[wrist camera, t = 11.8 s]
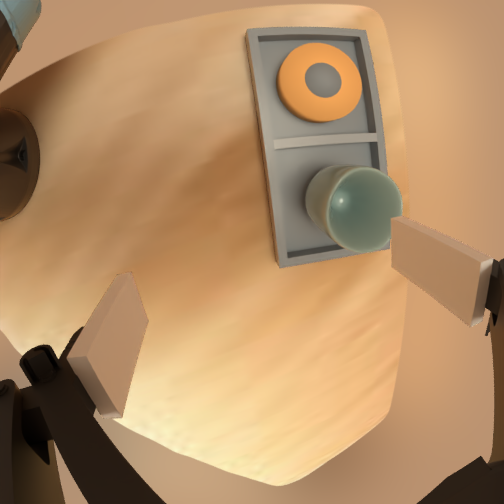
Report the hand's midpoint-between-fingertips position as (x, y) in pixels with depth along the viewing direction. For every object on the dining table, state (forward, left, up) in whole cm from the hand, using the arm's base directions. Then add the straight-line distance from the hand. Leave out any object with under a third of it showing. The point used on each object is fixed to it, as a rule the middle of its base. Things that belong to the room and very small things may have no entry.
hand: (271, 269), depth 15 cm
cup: (+7, +8, -21) cm, 23 cm away
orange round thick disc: (-3, +16, -21) cm, 26 cm away
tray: (+2, +12, -21) cm, 24 cm away
